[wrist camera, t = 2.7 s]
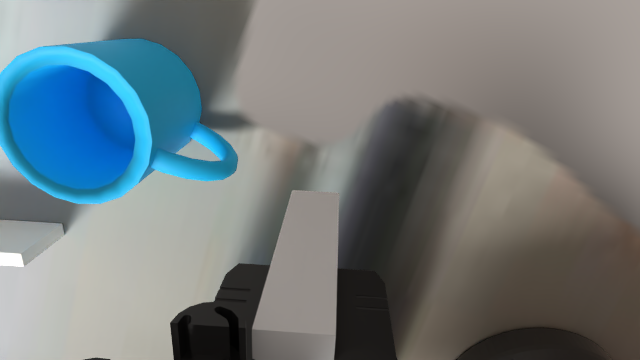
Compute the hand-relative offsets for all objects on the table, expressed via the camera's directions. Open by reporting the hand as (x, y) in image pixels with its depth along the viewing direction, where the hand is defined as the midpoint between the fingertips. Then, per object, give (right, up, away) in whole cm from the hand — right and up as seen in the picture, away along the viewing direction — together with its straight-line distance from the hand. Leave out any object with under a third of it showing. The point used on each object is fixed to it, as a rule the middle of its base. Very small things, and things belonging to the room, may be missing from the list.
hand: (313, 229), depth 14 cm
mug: (-10, +6, +16) cm, 20 cm away
